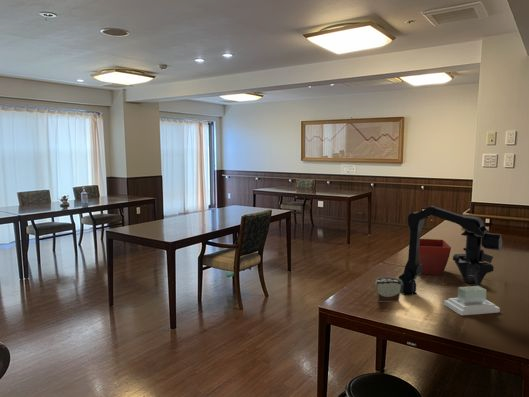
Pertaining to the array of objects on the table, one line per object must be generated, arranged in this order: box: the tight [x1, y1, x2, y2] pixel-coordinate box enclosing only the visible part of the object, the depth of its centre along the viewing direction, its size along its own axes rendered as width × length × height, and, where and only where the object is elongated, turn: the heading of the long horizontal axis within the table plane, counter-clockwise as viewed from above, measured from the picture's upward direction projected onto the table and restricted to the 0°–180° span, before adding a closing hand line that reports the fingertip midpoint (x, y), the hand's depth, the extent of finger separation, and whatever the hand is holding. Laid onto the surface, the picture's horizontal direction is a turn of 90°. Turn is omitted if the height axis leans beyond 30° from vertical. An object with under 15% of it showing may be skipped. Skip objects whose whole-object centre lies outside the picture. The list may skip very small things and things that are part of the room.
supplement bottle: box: [462, 264, 477, 285], centre depth 206 cm, size 7×7×12 cm
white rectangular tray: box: [443, 297, 501, 316], centre depth 173 cm, size 18×12×3 cm, turn 100°
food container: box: [374, 276, 403, 303], centre depth 184 cm, size 12×6×10 cm, turn 92°
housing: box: [456, 285, 487, 306], centre depth 172 cm, size 5×10×7 cm, turn 100°
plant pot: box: [408, 238, 452, 276], centre depth 225 cm, size 19×19×17 cm
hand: (471, 281), depth 172 cm, fingers open, 9 cm apart
